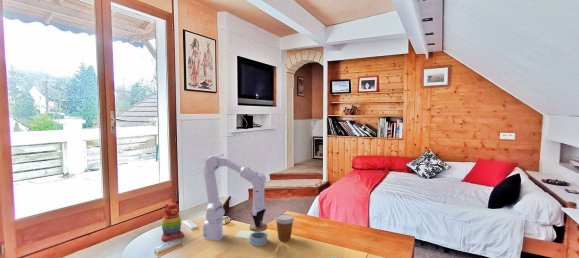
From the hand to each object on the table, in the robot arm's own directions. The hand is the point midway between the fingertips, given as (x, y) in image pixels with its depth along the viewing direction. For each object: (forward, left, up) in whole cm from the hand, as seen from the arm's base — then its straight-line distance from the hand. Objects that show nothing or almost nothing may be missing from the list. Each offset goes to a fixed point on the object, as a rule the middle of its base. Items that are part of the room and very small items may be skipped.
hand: (258, 224), depth 138 cm
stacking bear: (-47, -3, -10) cm, 48 cm away
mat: (-10, +7, -9) cm, 15 cm away
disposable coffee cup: (+12, +7, -10) cm, 17 cm away
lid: (0, 0, -2) cm, 2 cm away
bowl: (0, 0, -9) cm, 9 cm away
